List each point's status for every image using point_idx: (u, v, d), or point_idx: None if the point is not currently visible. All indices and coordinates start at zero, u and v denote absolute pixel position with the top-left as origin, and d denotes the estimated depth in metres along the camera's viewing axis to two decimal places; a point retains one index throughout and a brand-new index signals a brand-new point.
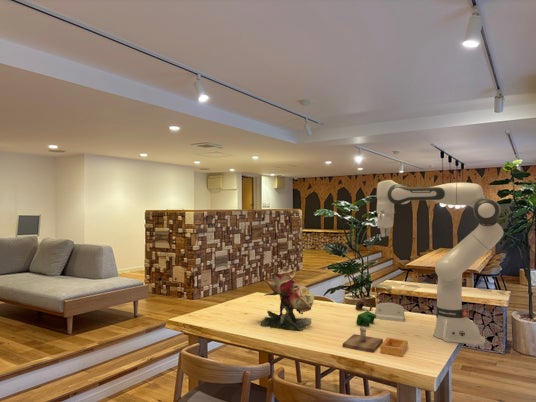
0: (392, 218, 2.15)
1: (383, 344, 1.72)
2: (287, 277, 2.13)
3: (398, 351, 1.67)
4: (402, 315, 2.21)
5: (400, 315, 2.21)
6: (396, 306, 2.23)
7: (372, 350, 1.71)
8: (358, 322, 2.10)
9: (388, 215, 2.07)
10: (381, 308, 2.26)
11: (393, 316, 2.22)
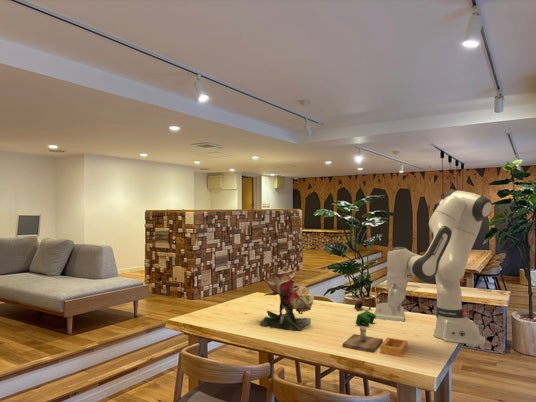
0: (404, 290, 1.85)
1: (383, 344, 1.72)
2: (287, 277, 2.13)
3: (398, 351, 1.67)
4: (402, 315, 2.21)
5: (400, 315, 2.21)
6: None
7: (372, 350, 1.71)
8: (358, 322, 2.10)
9: (400, 289, 1.76)
10: (381, 308, 2.26)
11: (393, 316, 2.22)
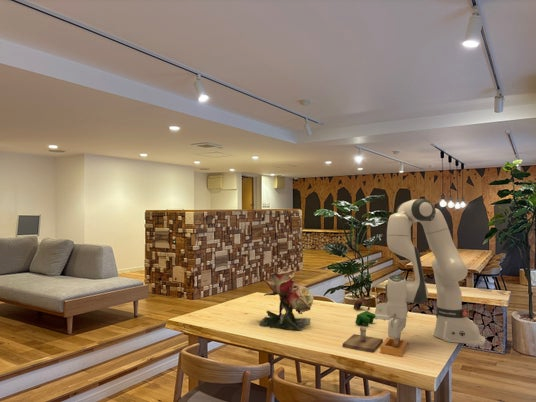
0: (404, 318, 1.85)
1: (383, 344, 1.72)
2: (286, 277, 2.13)
3: (398, 351, 1.67)
4: None
5: None
6: None
7: (372, 350, 1.71)
8: (357, 322, 2.11)
9: (400, 319, 1.76)
10: (381, 308, 2.26)
11: None
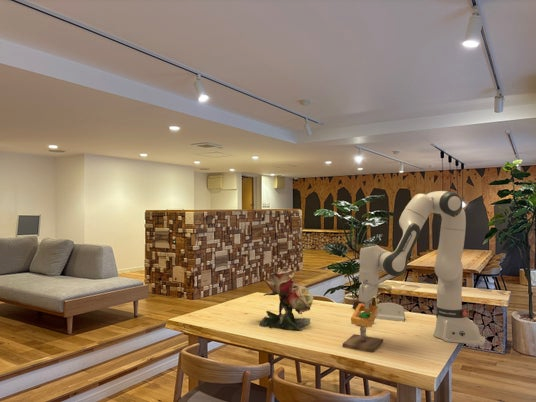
0: (376, 285, 1.91)
1: (354, 315, 1.79)
2: (286, 277, 2.13)
3: (367, 323, 1.74)
4: (402, 315, 2.21)
5: (400, 315, 2.21)
6: (396, 306, 2.24)
7: (372, 350, 1.71)
8: None
9: (371, 285, 1.82)
10: (381, 308, 2.26)
11: (393, 316, 2.22)
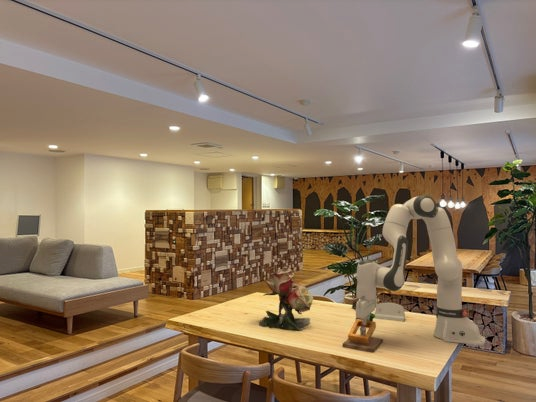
0: (374, 301, 1.92)
1: (351, 332, 1.80)
2: (286, 277, 2.13)
3: (364, 340, 1.75)
4: (402, 315, 2.21)
5: (400, 315, 2.21)
6: (396, 306, 2.24)
7: (372, 350, 1.71)
8: None
9: (369, 301, 1.84)
10: (381, 308, 2.26)
11: (393, 316, 2.22)
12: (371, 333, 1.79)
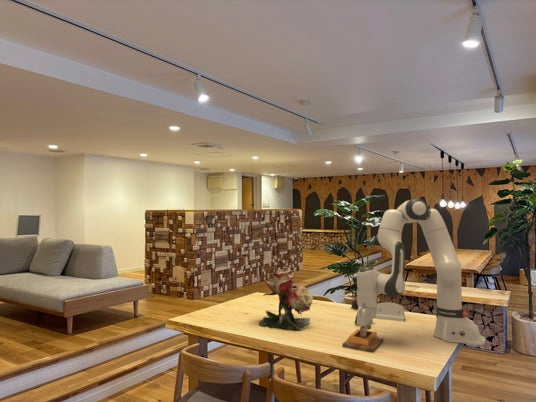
0: (375, 308, 1.92)
1: (352, 335, 1.80)
2: (286, 277, 2.13)
3: (365, 341, 1.74)
4: (402, 315, 2.21)
5: (400, 315, 2.21)
6: (396, 306, 2.24)
7: (372, 350, 1.71)
8: None
9: (369, 309, 1.83)
10: (381, 308, 2.26)
11: (393, 316, 2.22)
12: (372, 339, 1.79)
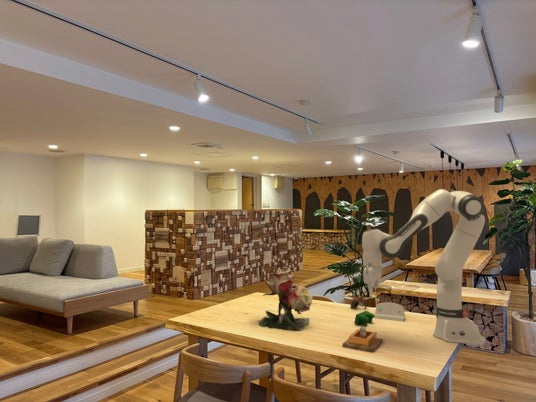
0: (380, 269, 1.99)
1: (352, 335, 1.80)
2: (285, 277, 2.13)
3: (365, 341, 1.74)
4: (402, 315, 2.21)
5: (400, 315, 2.21)
6: (396, 306, 2.24)
7: (372, 350, 1.71)
8: (356, 322, 2.11)
9: (375, 268, 1.91)
10: (381, 308, 2.26)
11: (393, 316, 2.22)
12: (372, 339, 1.79)
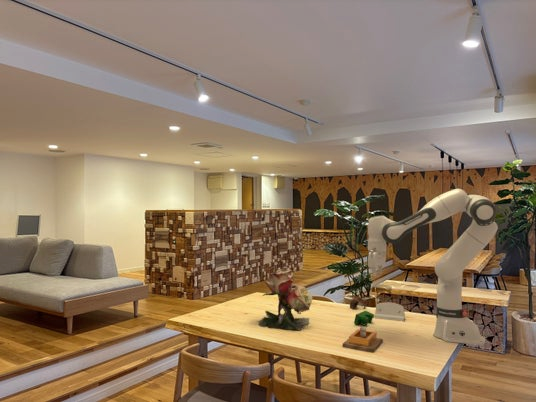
0: (384, 254, 2.05)
1: (352, 335, 1.80)
2: (285, 277, 2.13)
3: (365, 341, 1.74)
4: (402, 315, 2.21)
5: (400, 315, 2.21)
6: (396, 306, 2.24)
7: (372, 350, 1.71)
8: (356, 322, 2.11)
9: (380, 253, 1.96)
10: (381, 308, 2.27)
11: (393, 316, 2.22)
12: (372, 339, 1.79)
